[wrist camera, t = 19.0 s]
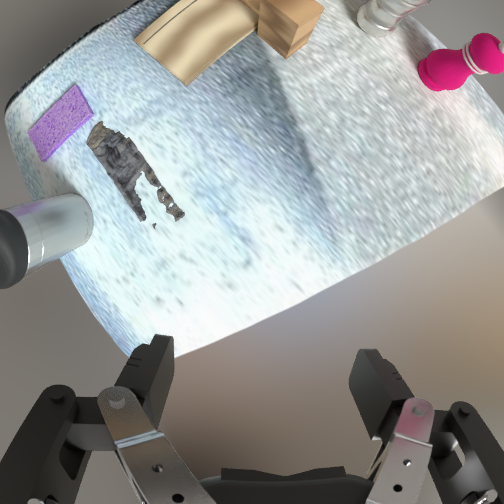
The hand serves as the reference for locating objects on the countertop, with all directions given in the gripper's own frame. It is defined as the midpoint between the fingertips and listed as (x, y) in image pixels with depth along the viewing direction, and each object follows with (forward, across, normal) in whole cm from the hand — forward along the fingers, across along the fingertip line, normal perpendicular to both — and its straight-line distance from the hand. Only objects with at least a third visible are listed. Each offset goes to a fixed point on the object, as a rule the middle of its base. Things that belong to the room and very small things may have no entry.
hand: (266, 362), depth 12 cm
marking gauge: (+33, +3, -33) cm, 47 cm away
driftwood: (+34, +19, -6) cm, 39 cm away
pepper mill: (+33, -28, -30) cm, 53 cm away
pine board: (+33, +8, -33) cm, 47 cm away
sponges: (+34, +34, -14) cm, 50 cm away
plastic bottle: (+33, -16, -36) cm, 52 cm away
